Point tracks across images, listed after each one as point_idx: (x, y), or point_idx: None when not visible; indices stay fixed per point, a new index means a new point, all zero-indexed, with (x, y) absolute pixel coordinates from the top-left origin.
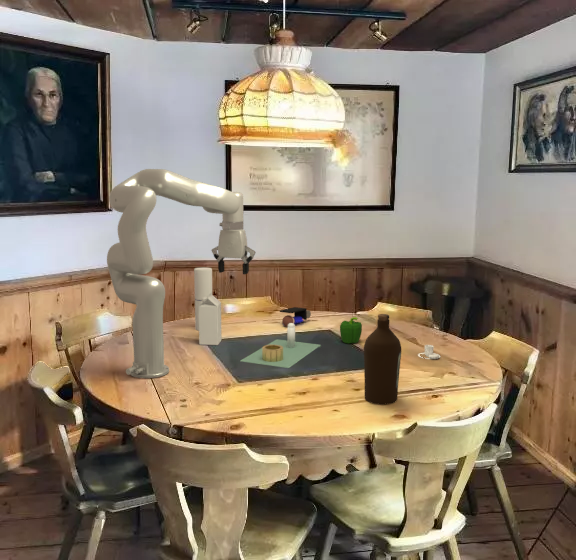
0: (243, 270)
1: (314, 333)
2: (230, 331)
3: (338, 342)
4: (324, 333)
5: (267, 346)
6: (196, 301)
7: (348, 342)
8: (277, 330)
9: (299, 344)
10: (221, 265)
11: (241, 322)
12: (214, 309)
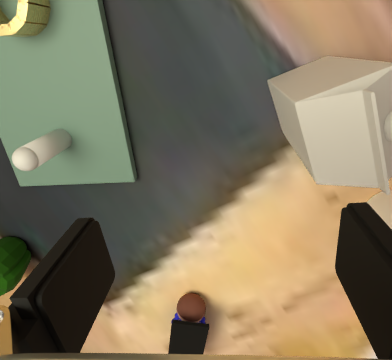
0: (69, 238)
1: None
2: (302, 218)
3: (32, 238)
4: None
5: (19, 3)
6: None
7: (6, 237)
8: (198, 266)
9: (59, 166)
10: (375, 272)
11: (313, 292)
12: (305, 94)
